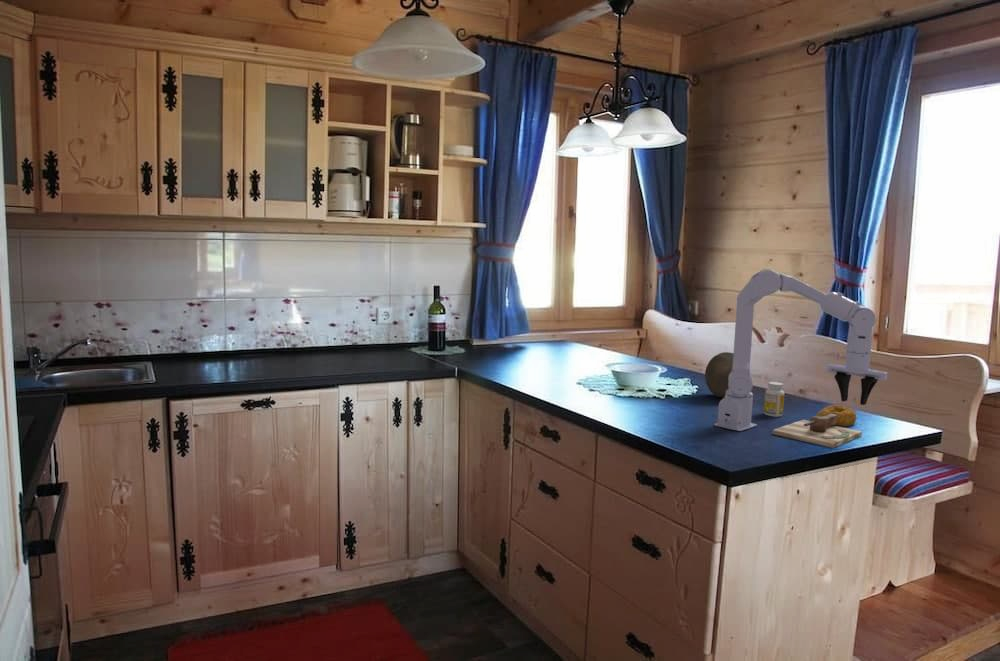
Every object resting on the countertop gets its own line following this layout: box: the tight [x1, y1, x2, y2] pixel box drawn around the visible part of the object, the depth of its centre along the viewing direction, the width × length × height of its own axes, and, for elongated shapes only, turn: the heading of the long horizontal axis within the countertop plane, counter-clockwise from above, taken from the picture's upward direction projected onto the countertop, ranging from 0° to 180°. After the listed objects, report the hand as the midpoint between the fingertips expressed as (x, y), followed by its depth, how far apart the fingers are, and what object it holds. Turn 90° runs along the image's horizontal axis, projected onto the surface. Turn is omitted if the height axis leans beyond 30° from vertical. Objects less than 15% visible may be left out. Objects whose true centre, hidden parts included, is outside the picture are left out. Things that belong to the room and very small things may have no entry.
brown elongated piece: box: [804, 414, 838, 432], centre depth 193 cm, size 18×4×3 cm, turn 132°
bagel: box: [815, 404, 858, 427], centre depth 207 cm, size 10×11×5 cm
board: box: [772, 419, 863, 449], centre depth 192 cm, size 18×16×1 cm
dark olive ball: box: [704, 351, 734, 399], centre depth 234 cm, size 14×14×15 cm
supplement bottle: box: [763, 381, 785, 418], centre depth 213 cm, size 5×5×10 cm
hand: (853, 402), depth 190 cm, fingers open, 4 cm apart
